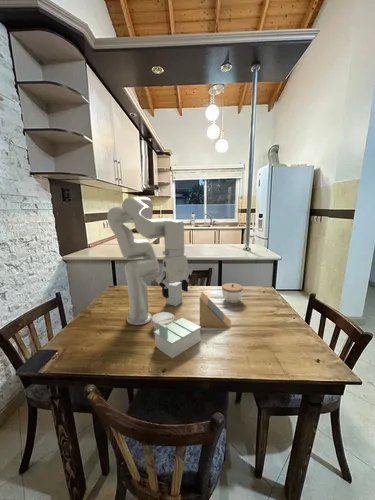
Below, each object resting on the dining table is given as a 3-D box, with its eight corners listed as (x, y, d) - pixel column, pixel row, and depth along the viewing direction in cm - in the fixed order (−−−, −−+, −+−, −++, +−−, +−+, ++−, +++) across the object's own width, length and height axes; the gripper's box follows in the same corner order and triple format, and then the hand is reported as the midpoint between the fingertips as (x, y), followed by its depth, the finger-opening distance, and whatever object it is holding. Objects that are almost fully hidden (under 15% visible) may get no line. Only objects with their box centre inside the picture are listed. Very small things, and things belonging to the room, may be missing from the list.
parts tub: (155, 346, 98) (154, 333, 97) (182, 331, 109) (182, 319, 108) (172, 358, 90) (172, 344, 89) (200, 341, 101) (200, 328, 100)
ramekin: (166, 336, 105) (166, 325, 104) (147, 329, 111) (146, 319, 110) (179, 324, 115) (179, 315, 114) (160, 319, 120) (160, 310, 119)
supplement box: (182, 301, 141) (182, 282, 138) (175, 306, 135) (175, 286, 132) (173, 299, 145) (172, 280, 142) (165, 303, 139) (165, 283, 136)
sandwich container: (231, 328, 111) (232, 299, 108) (199, 326, 114) (199, 297, 111) (231, 320, 119) (232, 292, 116) (201, 317, 122) (201, 290, 119)
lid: (153, 333, 97) (153, 320, 95) (182, 319, 108) (182, 307, 107) (171, 345, 88) (171, 331, 87) (201, 328, 100) (201, 316, 99)
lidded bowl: (227, 294, 151) (227, 278, 148) (245, 299, 143) (246, 282, 141) (218, 301, 141) (218, 284, 138) (237, 306, 133) (238, 288, 131)
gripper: (161, 257, 81) (163, 303, 85) (197, 250, 92) (197, 291, 96) (150, 254, 87) (152, 296, 90) (185, 247, 98) (185, 286, 101)
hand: (175, 293), depth 93 cm, fingers open, 9 cm apart
